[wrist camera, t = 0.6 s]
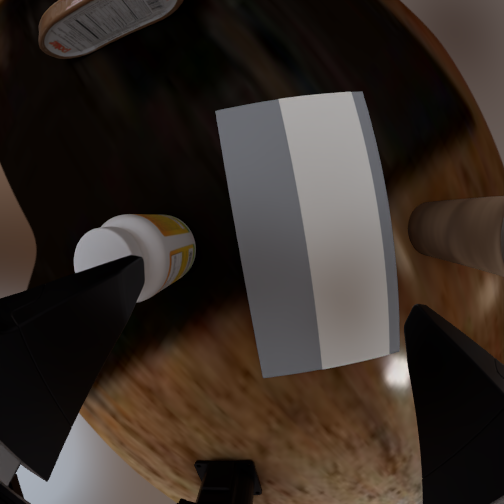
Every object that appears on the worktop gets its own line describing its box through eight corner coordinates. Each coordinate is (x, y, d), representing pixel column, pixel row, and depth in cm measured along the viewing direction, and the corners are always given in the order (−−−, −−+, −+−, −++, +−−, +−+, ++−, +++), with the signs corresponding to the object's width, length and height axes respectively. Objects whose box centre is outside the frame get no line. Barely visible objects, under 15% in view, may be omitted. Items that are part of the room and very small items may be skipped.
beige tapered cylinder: (452, 251, 22) (561, 276, 9) (410, 260, 22) (517, 297, 9) (447, 198, 21) (558, 190, 8) (404, 204, 22) (514, 195, 9)
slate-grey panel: (396, 348, 23) (399, 351, 22) (263, 374, 24) (263, 378, 23) (360, 94, 21) (362, 91, 20) (216, 113, 22) (215, 110, 21)
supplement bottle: (128, 227, 23) (53, 234, 14) (184, 205, 23) (127, 197, 13) (148, 288, 24) (83, 325, 14) (206, 270, 23) (162, 303, 14)
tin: (192, -5, 21) (169, -58, 12) (197, 13, 21) (173, -42, 12) (67, 53, 22) (23, 22, 14) (67, 73, 22) (19, 43, 14)
